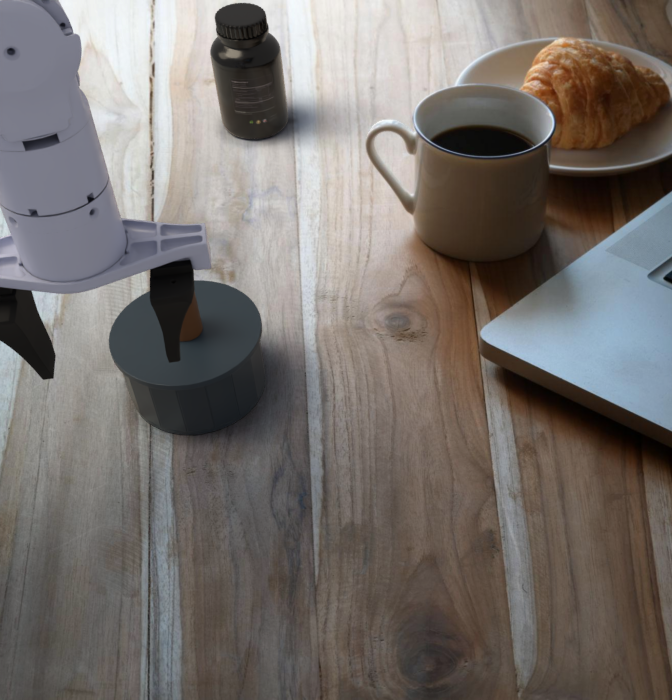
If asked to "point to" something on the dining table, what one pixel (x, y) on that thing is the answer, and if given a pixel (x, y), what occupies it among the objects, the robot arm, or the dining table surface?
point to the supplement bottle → (248, 73)
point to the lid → (188, 339)
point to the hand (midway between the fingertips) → (112, 359)
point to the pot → (202, 401)
